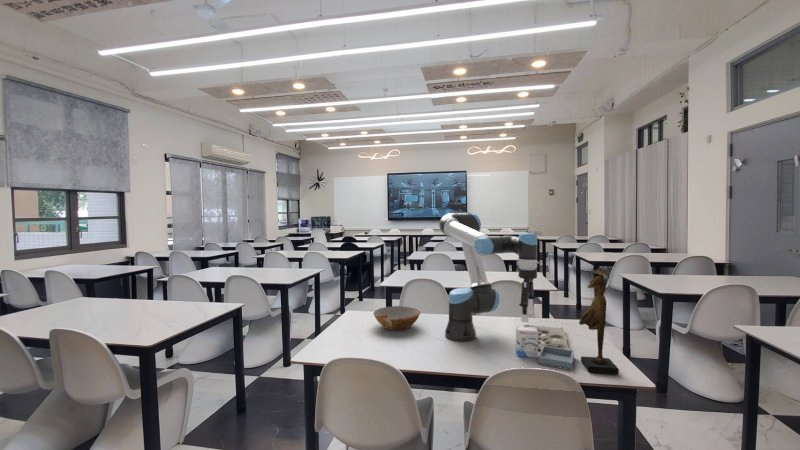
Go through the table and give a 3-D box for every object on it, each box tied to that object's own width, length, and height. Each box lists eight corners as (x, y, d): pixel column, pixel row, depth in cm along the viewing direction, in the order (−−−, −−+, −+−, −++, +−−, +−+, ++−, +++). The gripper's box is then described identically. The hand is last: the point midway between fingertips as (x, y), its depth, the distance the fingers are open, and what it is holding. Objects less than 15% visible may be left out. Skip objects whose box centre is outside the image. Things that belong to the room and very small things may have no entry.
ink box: (517, 356, 158) (517, 329, 158) (515, 352, 163) (515, 326, 163) (538, 357, 157) (538, 330, 156) (535, 353, 162) (536, 327, 161)
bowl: (367, 333, 189) (367, 317, 188) (380, 318, 213) (380, 305, 213) (415, 336, 183) (415, 321, 183) (423, 321, 208) (423, 307, 207)
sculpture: (583, 373, 142) (585, 270, 140) (575, 361, 153) (576, 266, 151) (619, 375, 140) (622, 271, 138) (608, 363, 151) (610, 266, 149)
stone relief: (522, 350, 166) (570, 355, 160) (521, 344, 166) (570, 348, 160) (523, 328, 197) (564, 331, 190) (523, 323, 197) (564, 326, 190)
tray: (538, 363, 151) (538, 356, 151) (542, 352, 163) (542, 345, 163) (571, 370, 145) (572, 362, 145) (573, 357, 157) (573, 350, 157)
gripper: (532, 273, 145) (532, 326, 146) (540, 265, 167) (540, 311, 168) (513, 272, 149) (512, 324, 150) (523, 264, 171) (523, 309, 172)
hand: (527, 317), depth 159 cm, fingers open, 13 cm apart
